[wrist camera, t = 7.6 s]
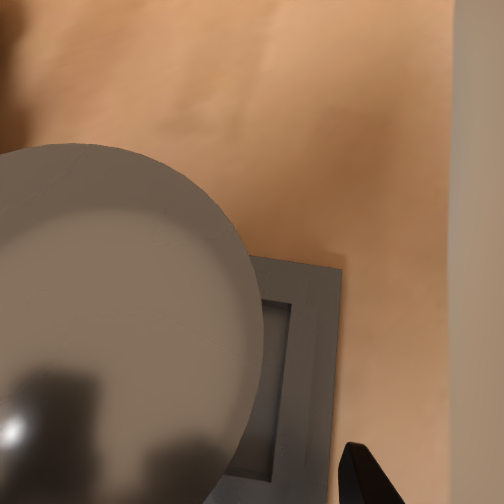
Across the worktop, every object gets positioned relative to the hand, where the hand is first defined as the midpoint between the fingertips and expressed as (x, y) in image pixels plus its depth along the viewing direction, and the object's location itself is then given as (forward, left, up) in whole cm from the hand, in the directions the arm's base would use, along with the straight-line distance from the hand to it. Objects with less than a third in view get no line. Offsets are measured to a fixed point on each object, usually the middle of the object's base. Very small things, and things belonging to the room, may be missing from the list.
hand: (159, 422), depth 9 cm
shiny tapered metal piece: (+1, +1, -8) cm, 8 cm away
